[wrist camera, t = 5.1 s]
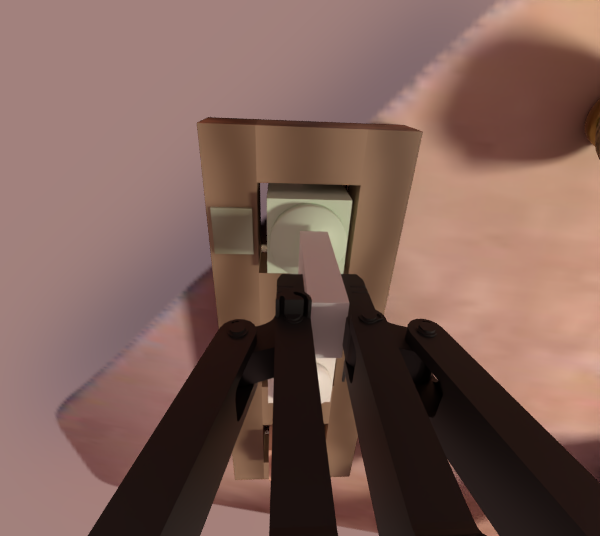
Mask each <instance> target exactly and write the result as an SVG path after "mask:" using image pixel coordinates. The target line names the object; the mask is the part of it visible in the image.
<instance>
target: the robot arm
mask: <svg viewBox="0 0 600 536" xmlns="http://www.w3.org/2000/svg"><path fill="white" fill-rule="evenodd" d="M343 351H344V355H345V360H344V367H343V373H342V382H345V377H346V381H347V386H348V391H349V395H350V400H351V405H352V410H353V414H354V419H355V424H356V429H357V433H358V438H359V443H360V448H361V452H362V457H363V462H364V466H365V471H366V476H367V481H368V485H369V490H370V495H371V500H372V504H373V509H374V514H375V519H376V523H377V528H378V533H379V536H487V535H485V534H483V533H482V532H481V531H480V530H479V529H478V527H477V526H476V524H475V522H474V520H473V517H472V515H471V513H470V510H469V508H468V506H467V504H466V501H465V499H464V497H463V494H462V492H461V490H460V488H459V485H458V483H457V481H456V478H455V476H454V474H453V471H452V469H451V467H450V465H449V462H450V464H451V465H452V466H453V468H454V469H455V471H456V472H457V474H458V475H459V477H460V478H461V480H462V481H463V483H464V484H465V486H466V487H467V489H468V490H469V492H470V493H471V495H472V496H473V498H474V499H475V500H476V502H477V503H478V505H479V506H480V508H481V509H482V511H483V512H484V514H485V515H486V517H487V518H488V520H489V521H490V523H491V524H492V526H493V527H494V529H495V530H496V532H497V533H498V534H499V536H600V483H599V482H598V481H597V480H596V479H595V478H594V477H593V476H592V475H591V474H590V473H589V472H588V471H587V470H586V469H585V468H584V467H583V466H582V465H581V464H580V463H579V462H578V461H577V460H576V459H575V458H574V457H573V456H572V455H571V454H570V453H569V452H568V451H567V450H566V449H565V448H564V447H563V446H562V445H561V444H560V443H559V442H558V441H557V440H556V439H555V438H554V437H553V436H552V435H551V434H550V433H549V432H548V431H547V430H546V429H544V428H543V427H542V426H541V425H540V424H539V423H538V422H537V421H536V420H535V419H534V418H533V417H532V416H531V415H530V414H529V413H528V412H527V411H526V410H525V409H524V408H523V407H522V406H521V405H520V404H519V403H518V402H517V401H516V400H515V399H514V398H513V397H512V396H511V395H510V394H509V393H508V392H507V391H506V390H505V389H504V388H503V387H502V386H501V385H500V384H499V383H498V382H497V381H496V380H495V379H494V378H493V377H492V376H491V375H490V374H489V373H488V372H487V371H486V370H485V369H484V368H483V367H482V366H481V365H480V364H479V363H478V362H477V361H475V360H474V359H473V358H472V357H471V356H470V355H469V354H468V353H467V352H466V351H465V350H464V349H463V348H462V347H461V346H460V345H459V344H458V343H457V342H456V341H455V340H454V339H453V338H452V337H451V336H450V335H449V334H448V333H447V332H446V331H445V330H444V329H443V328H442V327H441V326H439V325H438V324H437V323H435V322H432V321H430V320H426V319H415V320H412V321H410V323H409V324H408V327H404V326H399V325H395V324H391V323H389V322H387V320H386V318H385V317H384V315H383V314H382V313H380V312H379V311H377V310H375V308H374V305H373V303H372V300H371V298H370V295H369V293H368V291H367V288H366V286H365V283H364V281H363V279H362V278H360V277H359V276H358V275H357V274H341V273H340V270H339V267H338V264H337V260H336V257H335V254H334V250H333V247H332V244H331V241H330V237H329V234H328V232H325V231H300V243H299V265H298V274H281V275H280V276H279V278H278V279H277V293H276V304H275V317H274V318H273V319H272V320H271V321H270V322H268V323H266V324H263V325H260V326H255V324H253V323H252V322H251V321H248V320H245V319H235V320H230V321H228V322H226V323H224V324H223V325H222V326H221V327H220V328H219V330H218V332H217V333H216V335H215V336H214V338H213V339H212V341H211V343H210V344H209V346H208V347H207V349H206V350H205V352H204V354H203V355H202V357H201V358H200V360H199V361H198V363H197V365H196V366H195V368H194V369H193V371H192V372H191V374H190V376H189V377H188V379H187V380H186V382H185V383H184V385H183V387H182V388H181V390H180V391H179V393H178V394H177V396H176V398H175V399H174V401H173V402H172V404H171V406H170V407H169V409H168V410H167V412H166V413H165V415H164V417H163V418H162V420H161V421H160V423H159V424H158V426H157V428H156V429H155V431H154V432H153V434H152V435H151V437H150V439H149V440H148V442H147V443H146V445H145V446H144V448H143V450H142V451H141V453H140V454H139V456H138V457H137V459H136V461H135V462H134V464H133V465H132V467H131V468H130V470H129V472H128V473H127V475H126V476H125V478H124V479H123V481H122V483H121V484H120V486H119V487H118V489H117V491H116V492H115V494H114V495H113V497H112V498H111V500H110V502H109V503H108V505H107V506H106V508H105V510H104V511H103V513H102V514H101V516H100V517H99V519H98V520H97V522H96V524H95V525H94V527H93V529H92V530H91V531H90V533H89V535H88V536H200V534H201V532H202V529H203V526H204V524H205V521H206V519H207V516H208V514H209V511H210V508H211V506H212V503H213V501H214V498H215V495H216V493H217V490H218V488H219V485H220V482H221V480H222V477H223V475H224V472H225V469H226V467H227V464H228V462H229V459H230V456H231V454H232V451H233V449H234V446H235V443H236V441H237V438H238V436H239V433H240V430H241V428H242V425H243V422H244V420H245V417H246V415H247V412H248V409H249V407H250V404H251V402H252V399H253V396H254V394H255V391H256V389H257V386H258V382H261V381H264V380H268V379H271V378H274V387H273V423H272V459H271V495H270V531H269V536H338V533H337V526H336V518H335V510H334V502H333V494H332V486H331V478H330V470H329V462H328V453H327V445H326V437H325V429H324V421H323V413H322V405H321V397H320V389H319V381H318V373H317V365H316V358H342V352H343ZM433 375H434V376H435V377H436V378H437V379H438V380H437V379H436V378H435V377H434V376H433ZM447 459H448V460H447ZM448 461H449V462H448Z"/></svg>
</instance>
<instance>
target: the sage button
mask: <svg viewBox="0 0 600 536" xmlns="http://www.w3.org/2000/svg"><path fill="white" fill-rule="evenodd" d="M351 208H352V199H351V197H350V196H349V194H348V192H347V191H346V189H345V187H344V186H343V185H331V184H295V183H269V184H268V192H267V273H290V274H298V265H299V243H300V231H325V232H328V234H329V237H330V241H331V244H332V247H333V250H334V254H335V257H336V260H337V264H338V267H339V270H340V273H341V274H343V272H344V264H345V256H346V248H347V240H348V232H349V224H350V216H351Z"/></svg>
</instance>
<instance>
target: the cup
mask: <svg viewBox="0 0 600 536" xmlns="http://www.w3.org/2000/svg"><path fill="white" fill-rule="evenodd" d="M585 134H586V137H587V139H588V140H589V141H590V142H591V144H593V145H594V146H595V148H596V152H597V155H598V157H599V159H600V99H599V100H598V101H597V102H596V103H595V104H594V106H593V107H592V108H591V110H590V112H589V114H588V116H587V118H586V122H585Z"/></svg>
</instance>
